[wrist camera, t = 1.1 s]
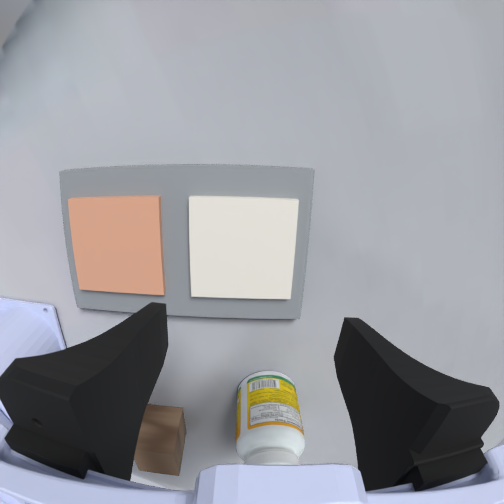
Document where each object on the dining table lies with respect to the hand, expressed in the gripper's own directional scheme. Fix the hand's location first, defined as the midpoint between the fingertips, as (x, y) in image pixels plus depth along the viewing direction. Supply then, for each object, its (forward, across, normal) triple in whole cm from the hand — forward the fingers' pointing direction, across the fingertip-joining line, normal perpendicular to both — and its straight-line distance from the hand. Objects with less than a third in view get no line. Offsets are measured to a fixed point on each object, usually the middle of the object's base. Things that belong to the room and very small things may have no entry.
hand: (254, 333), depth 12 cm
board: (+11, +5, 0) cm, 12 cm away
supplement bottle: (+11, -2, +14) cm, 18 cm away
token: (+11, +7, +19) cm, 23 cm away
